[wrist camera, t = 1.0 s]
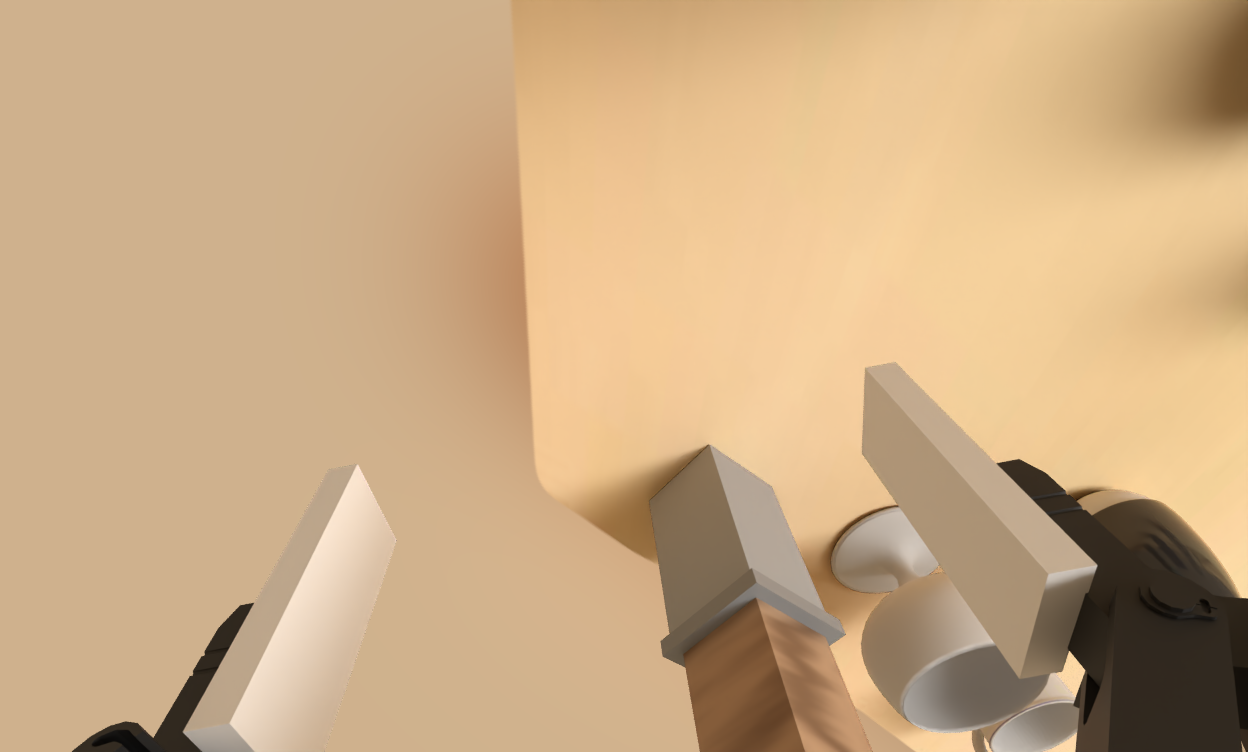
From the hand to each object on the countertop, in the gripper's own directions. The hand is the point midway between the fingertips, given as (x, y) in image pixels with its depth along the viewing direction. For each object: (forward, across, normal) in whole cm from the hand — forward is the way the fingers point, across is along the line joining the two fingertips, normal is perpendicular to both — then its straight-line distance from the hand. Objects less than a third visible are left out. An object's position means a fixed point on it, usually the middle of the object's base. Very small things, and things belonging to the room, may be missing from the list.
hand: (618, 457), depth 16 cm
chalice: (+29, +23, -40) cm, 54 cm away
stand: (+29, +6, -28) cm, 41 cm away
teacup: (+29, +36, -64) cm, 79 cm away
